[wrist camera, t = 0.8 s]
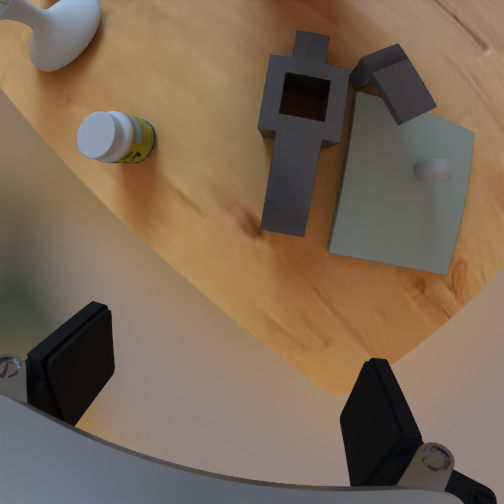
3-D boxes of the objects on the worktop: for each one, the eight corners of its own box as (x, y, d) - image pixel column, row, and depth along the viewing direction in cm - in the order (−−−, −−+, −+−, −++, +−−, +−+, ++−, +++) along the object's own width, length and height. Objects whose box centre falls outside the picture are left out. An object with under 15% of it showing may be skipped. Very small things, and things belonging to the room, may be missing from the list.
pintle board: (349, 56, 25) (364, 32, 19) (470, 100, 24) (502, 91, 18) (317, 248, 30) (326, 266, 24) (441, 271, 30) (469, 291, 24)
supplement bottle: (120, 167, 30) (74, 169, 22) (116, 125, 29) (70, 116, 21) (160, 158, 29) (121, 156, 21) (156, 115, 28) (116, 99, 20)
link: (278, 39, 25) (277, 12, 19) (341, 51, 25) (354, 27, 19) (249, 215, 30) (241, 225, 24) (313, 227, 30) (321, 240, 24)
